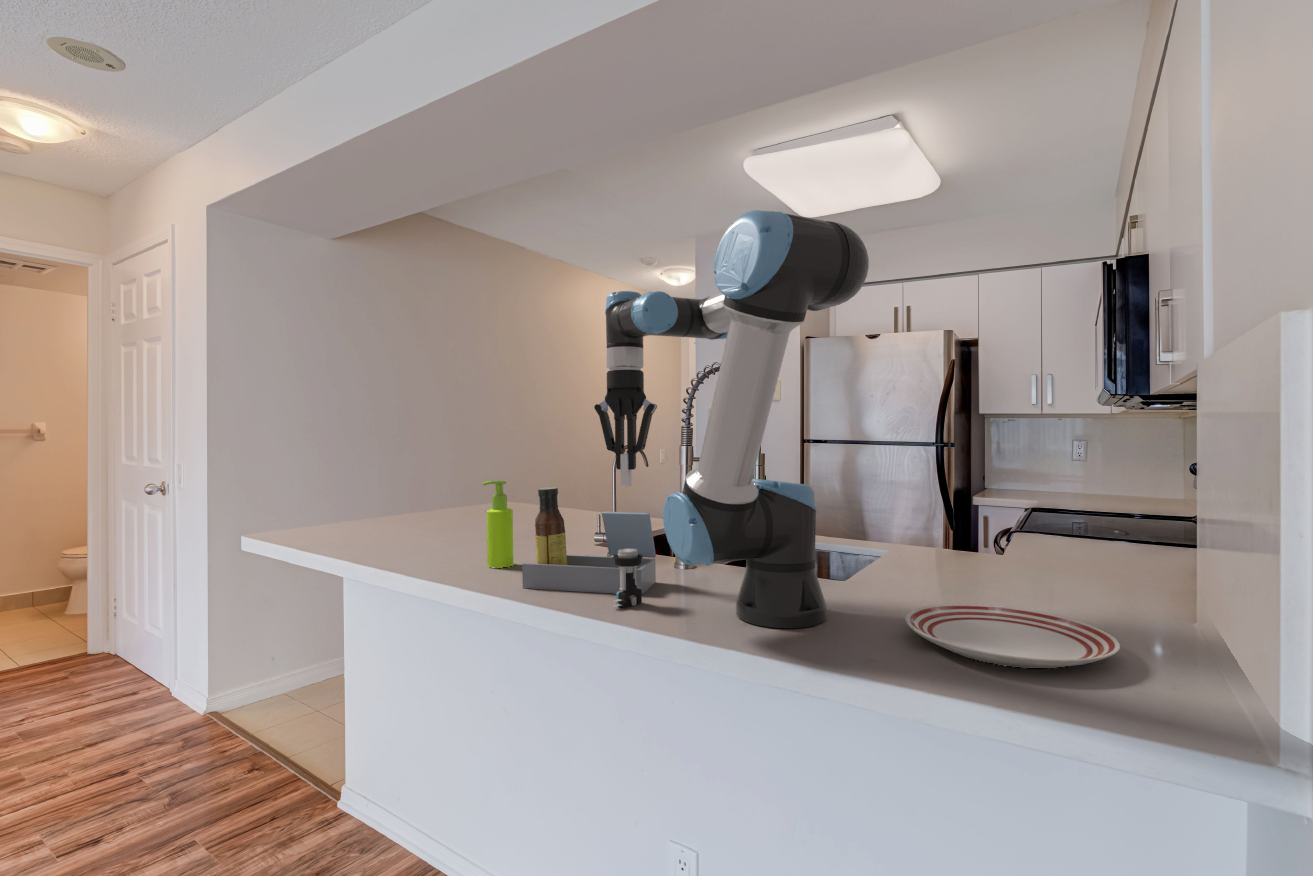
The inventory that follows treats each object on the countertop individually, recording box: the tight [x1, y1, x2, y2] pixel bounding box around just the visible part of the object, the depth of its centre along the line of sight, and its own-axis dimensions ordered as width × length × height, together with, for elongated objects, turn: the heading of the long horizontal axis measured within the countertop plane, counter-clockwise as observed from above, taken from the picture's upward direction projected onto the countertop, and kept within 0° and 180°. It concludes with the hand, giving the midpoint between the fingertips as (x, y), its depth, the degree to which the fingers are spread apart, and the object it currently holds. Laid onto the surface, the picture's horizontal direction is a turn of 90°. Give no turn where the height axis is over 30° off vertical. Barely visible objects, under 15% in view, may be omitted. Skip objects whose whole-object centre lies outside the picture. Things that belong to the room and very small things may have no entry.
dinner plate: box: [904, 603, 1121, 669], centre depth 97 cm, size 28×27×3 cm
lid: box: [601, 511, 657, 559], centre depth 136 cm, size 10×11×1 cm
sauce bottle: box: [534, 486, 568, 565], centre depth 137 cm, size 7×6×20 cm
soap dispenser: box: [480, 480, 514, 569], centre depth 154 cm, size 6×7×20 cm
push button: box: [612, 548, 644, 609], centre depth 120 cm, size 7×5×10 cm
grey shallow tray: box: [521, 554, 657, 595], centre depth 135 cm, size 25×11×5 cm, turn 75°
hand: (626, 485), depth 135 cm, fingers closed
